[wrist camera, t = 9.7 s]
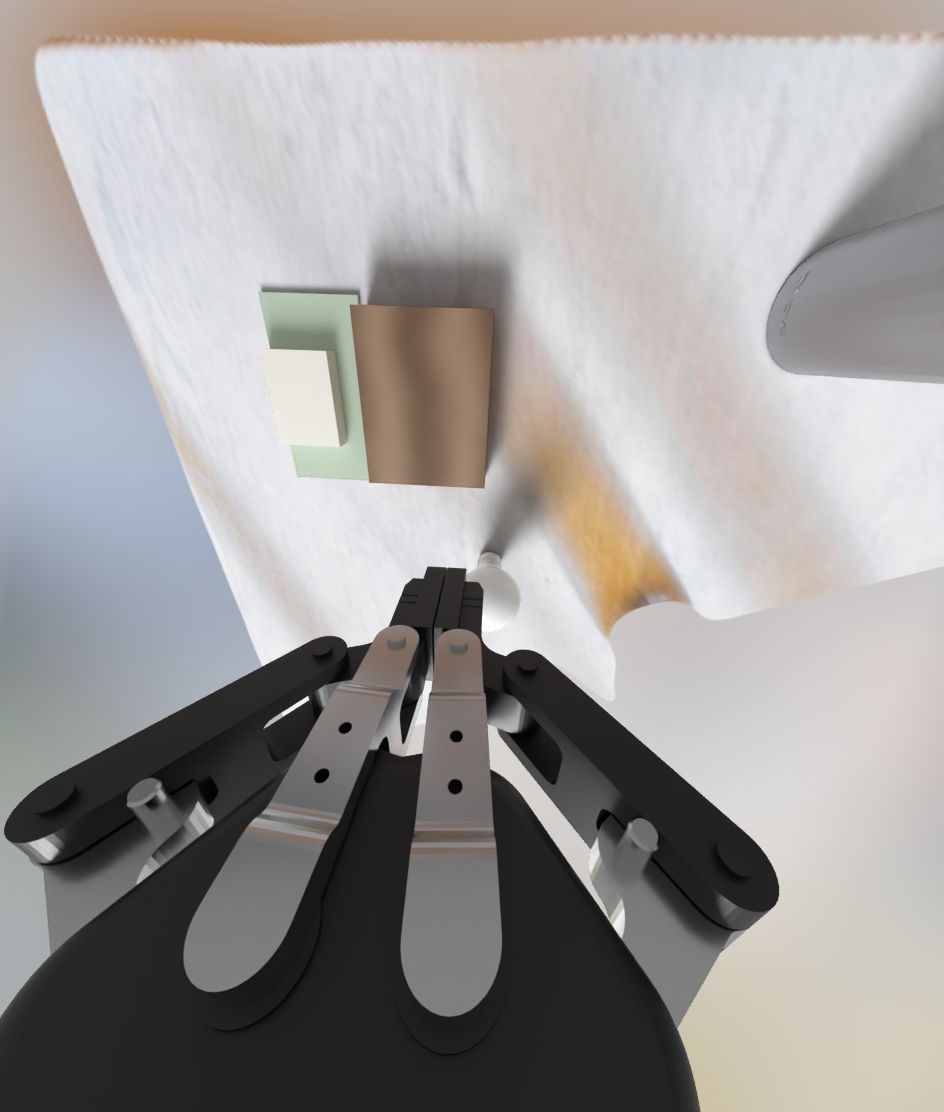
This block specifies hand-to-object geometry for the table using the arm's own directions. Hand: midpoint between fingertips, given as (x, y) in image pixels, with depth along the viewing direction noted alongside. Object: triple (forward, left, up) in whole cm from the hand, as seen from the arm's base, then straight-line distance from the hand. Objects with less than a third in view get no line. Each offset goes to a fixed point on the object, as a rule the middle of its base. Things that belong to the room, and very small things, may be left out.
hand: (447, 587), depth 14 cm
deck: (+4, -4, -25) cm, 26 cm away
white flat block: (+16, -4, -23) cm, 28 cm away
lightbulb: (-2, +13, -25) cm, 28 cm away
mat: (+15, -4, -25) cm, 29 cm away
